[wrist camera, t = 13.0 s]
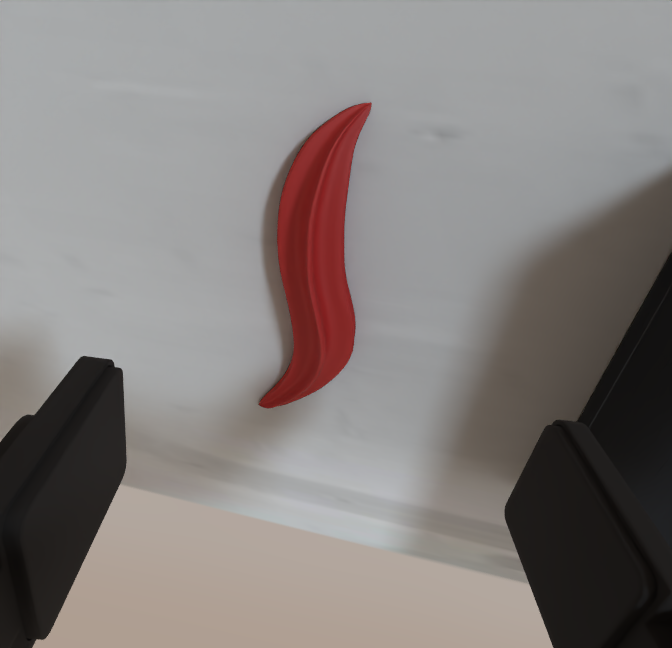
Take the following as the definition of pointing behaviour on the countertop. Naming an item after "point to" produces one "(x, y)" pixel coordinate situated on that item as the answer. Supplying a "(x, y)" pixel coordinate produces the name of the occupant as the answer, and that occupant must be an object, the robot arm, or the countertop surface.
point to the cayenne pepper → (317, 257)
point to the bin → (641, 406)
